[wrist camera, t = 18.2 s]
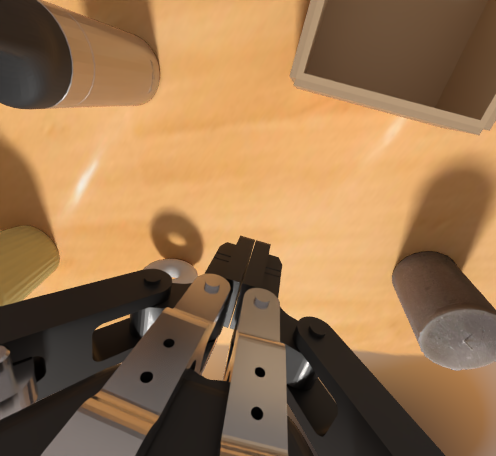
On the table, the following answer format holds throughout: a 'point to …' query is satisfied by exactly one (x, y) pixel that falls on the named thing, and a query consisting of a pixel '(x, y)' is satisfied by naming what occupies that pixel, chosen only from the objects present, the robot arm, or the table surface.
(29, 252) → the potted cactus
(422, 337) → the pillar candle
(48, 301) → the robot arm
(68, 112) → the table surface
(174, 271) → the donut
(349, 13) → the carton
